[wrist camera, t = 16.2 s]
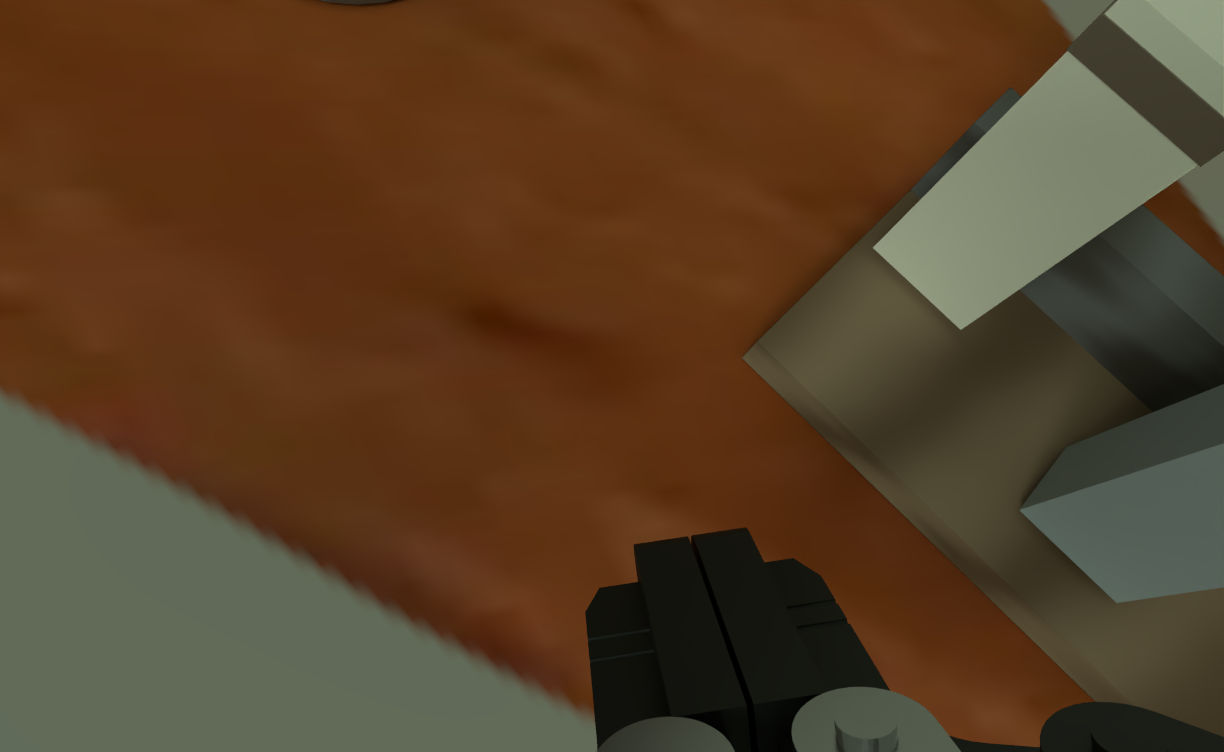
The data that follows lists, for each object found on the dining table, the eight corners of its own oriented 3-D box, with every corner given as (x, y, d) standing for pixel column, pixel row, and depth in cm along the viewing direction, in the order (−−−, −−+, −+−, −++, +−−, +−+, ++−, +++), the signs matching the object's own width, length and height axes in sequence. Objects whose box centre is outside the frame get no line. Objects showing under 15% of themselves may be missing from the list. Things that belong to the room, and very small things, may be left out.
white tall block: (870, 247, 30) (1127, -13, 19) (921, 196, 32) (1190, -77, 21) (961, 331, 30) (1276, 114, 19) (1008, 277, 31) (1332, 42, 20)
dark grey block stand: (741, 358, 30) (806, 287, 25) (923, 178, 34) (1010, 87, 29) (1280, 881, 28) (1473, 920, 23) (1405, 620, 32) (1592, 603, 27)
